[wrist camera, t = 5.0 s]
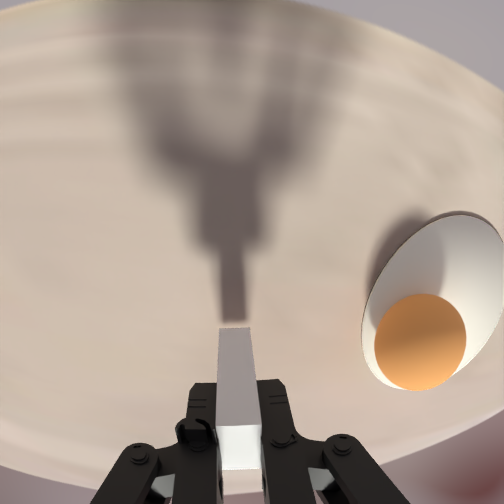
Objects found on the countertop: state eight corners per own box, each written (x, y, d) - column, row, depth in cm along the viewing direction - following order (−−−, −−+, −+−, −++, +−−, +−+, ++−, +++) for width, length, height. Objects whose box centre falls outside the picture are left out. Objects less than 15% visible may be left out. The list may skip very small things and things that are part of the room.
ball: (445, 277, 17) (368, 281, 18) (495, 314, 12) (406, 327, 12) (429, 351, 19) (357, 361, 19) (466, 399, 14) (383, 418, 14)
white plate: (373, 213, 16) (374, 214, 16) (519, 217, 17) (521, 217, 17) (347, 401, 20) (348, 403, 20) (482, 368, 21) (483, 369, 20)
